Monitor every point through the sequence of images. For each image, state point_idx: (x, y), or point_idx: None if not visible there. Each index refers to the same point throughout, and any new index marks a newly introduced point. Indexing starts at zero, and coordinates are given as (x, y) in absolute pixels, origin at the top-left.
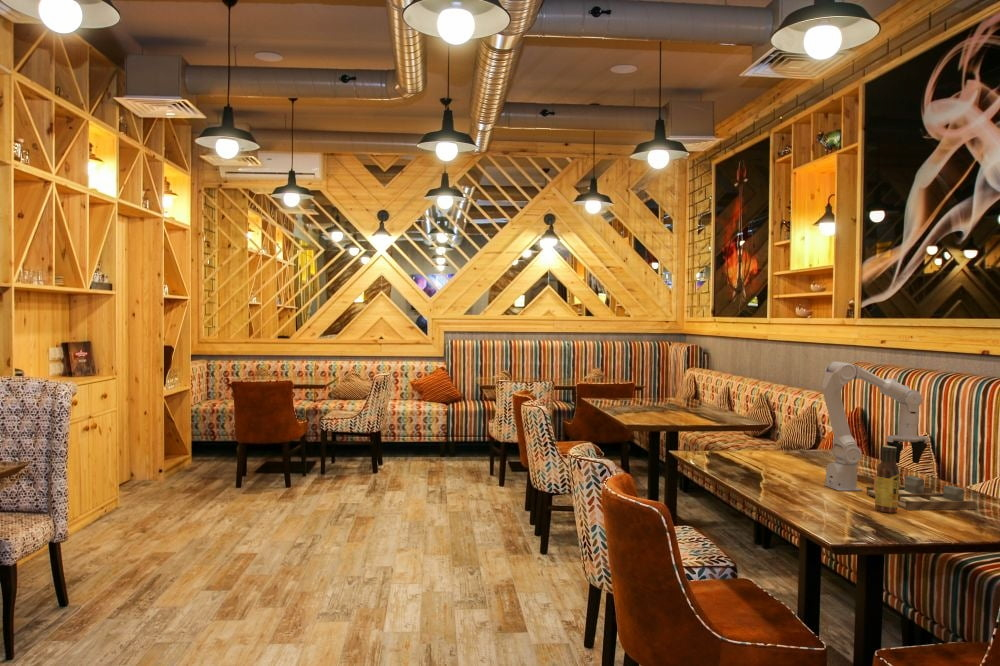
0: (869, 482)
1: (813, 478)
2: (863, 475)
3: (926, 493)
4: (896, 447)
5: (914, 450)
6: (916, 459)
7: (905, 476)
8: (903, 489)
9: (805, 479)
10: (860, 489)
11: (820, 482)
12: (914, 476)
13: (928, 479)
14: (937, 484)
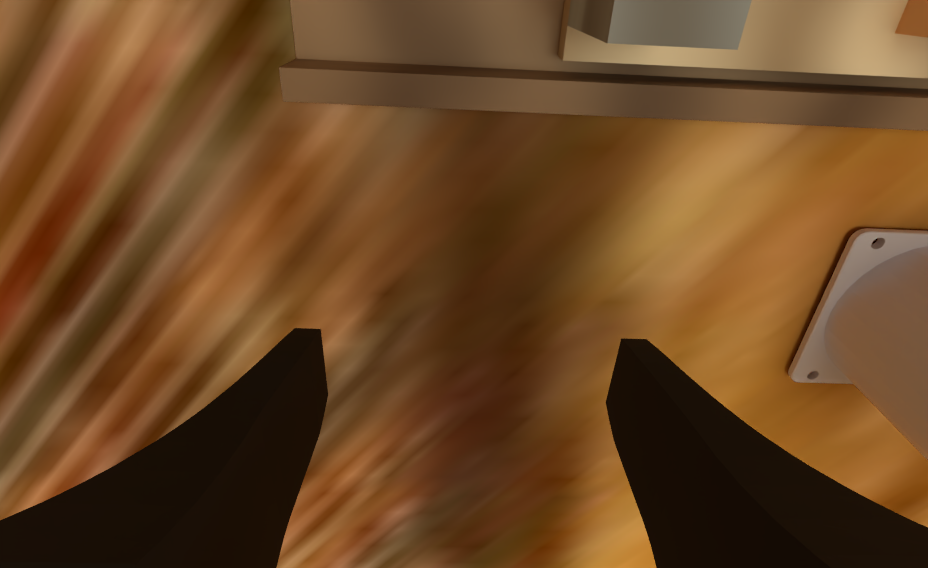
0: (527, 435)
1: None
2: (416, 558)
3: (358, 58)
4: (920, 532)
5: (265, 542)
6: (307, 376)
7: (735, 43)
8: (624, 81)
9: (903, 499)
10: (881, 232)
11: (889, 443)
12: (616, 7)
13: (11, 483)
14: (11, 378)
